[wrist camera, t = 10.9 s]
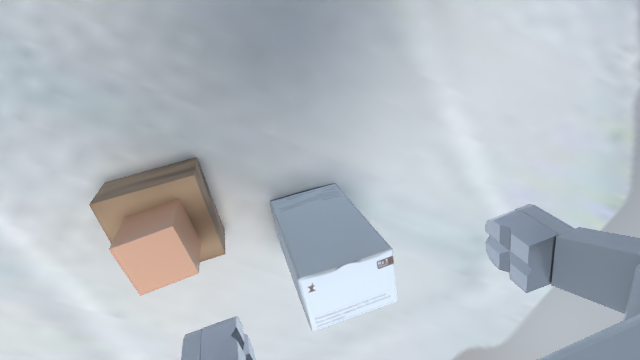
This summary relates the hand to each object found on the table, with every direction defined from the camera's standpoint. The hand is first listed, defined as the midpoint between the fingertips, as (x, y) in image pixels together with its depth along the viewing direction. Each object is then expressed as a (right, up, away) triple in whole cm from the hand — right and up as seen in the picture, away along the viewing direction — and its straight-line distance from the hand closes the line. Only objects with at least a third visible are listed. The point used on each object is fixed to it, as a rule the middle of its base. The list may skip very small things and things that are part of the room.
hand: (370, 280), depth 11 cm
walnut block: (-17, 0, +27) cm, 32 cm away
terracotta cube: (-16, -2, +22) cm, 28 cm away
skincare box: (-3, 0, +31) cm, 31 cm away
